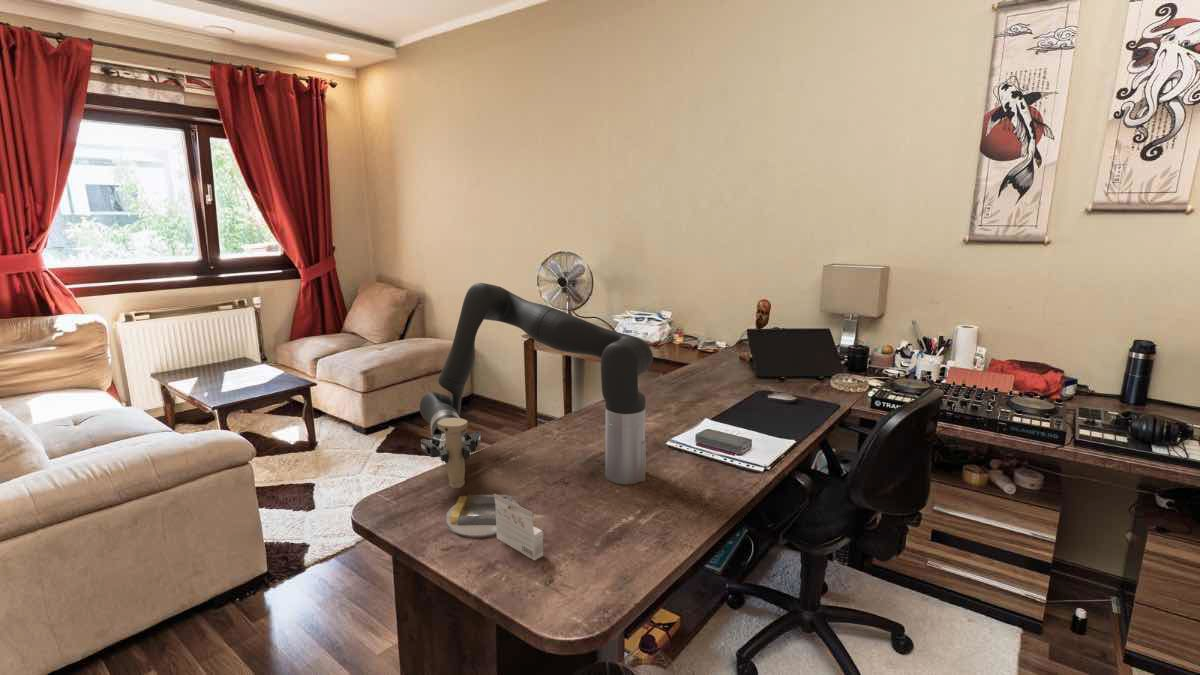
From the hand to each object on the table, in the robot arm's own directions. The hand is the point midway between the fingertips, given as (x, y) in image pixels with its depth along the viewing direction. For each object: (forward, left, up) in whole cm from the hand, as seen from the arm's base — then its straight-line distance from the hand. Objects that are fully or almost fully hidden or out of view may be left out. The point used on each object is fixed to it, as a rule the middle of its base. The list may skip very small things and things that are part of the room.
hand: (456, 457), depth 124 cm
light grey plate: (-7, +7, -10) cm, 14 cm away
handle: (+1, -3, -8) cm, 9 cm away
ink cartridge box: (-15, +18, -10) cm, 26 cm away
